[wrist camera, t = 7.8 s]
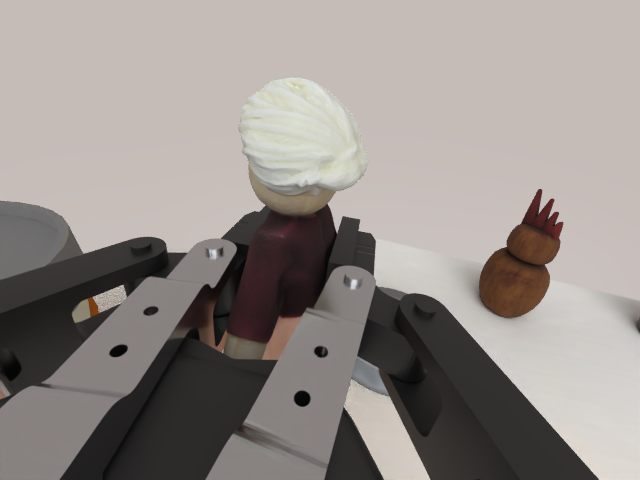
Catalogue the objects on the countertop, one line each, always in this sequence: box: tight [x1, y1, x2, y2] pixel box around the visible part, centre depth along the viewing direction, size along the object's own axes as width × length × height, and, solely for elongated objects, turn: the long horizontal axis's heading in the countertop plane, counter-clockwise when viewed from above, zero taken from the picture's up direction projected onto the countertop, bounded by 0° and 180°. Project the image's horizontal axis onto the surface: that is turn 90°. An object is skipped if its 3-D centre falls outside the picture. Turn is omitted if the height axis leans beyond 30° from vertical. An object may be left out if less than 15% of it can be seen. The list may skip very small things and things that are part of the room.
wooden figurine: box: [479, 189, 563, 318], centre depth 34 cm, size 7×6×15 cm
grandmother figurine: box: [223, 77, 368, 360], centre depth 10 cm, size 8×4×13 cm, turn 170°
